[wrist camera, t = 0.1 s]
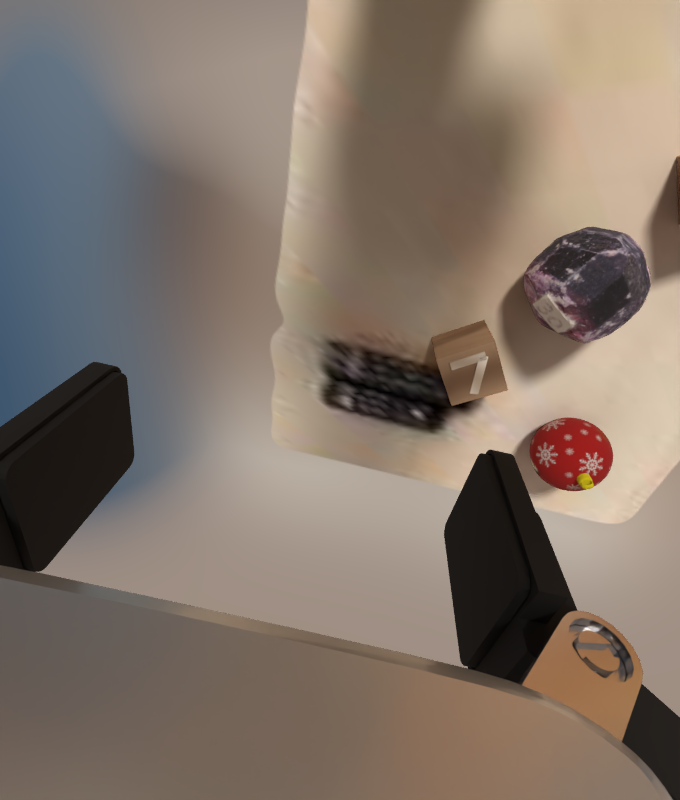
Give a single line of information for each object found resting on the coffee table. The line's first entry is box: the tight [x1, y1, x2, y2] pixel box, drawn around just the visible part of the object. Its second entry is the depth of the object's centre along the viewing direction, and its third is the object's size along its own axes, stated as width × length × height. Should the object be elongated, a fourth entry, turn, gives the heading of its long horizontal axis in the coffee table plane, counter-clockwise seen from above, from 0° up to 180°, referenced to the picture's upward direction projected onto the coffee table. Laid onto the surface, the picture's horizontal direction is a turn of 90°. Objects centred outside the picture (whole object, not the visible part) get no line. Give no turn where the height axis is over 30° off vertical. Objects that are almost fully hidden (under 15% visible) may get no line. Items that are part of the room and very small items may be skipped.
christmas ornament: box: [530, 418, 613, 491], centre depth 48 cm, size 9×9×10 cm
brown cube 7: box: [432, 320, 508, 406], centre depth 46 cm, size 6×6×6 cm
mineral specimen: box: [524, 227, 651, 343], centre depth 39 cm, size 10×10×10 cm
